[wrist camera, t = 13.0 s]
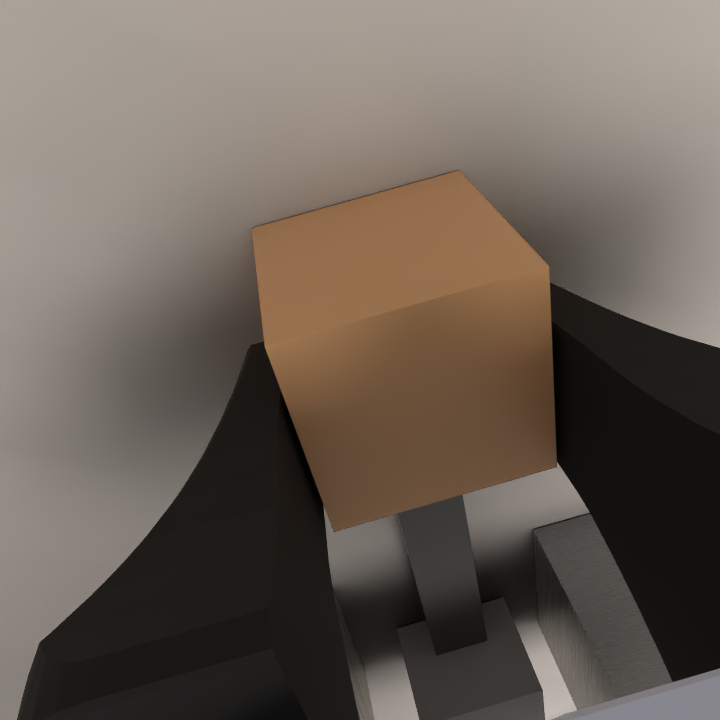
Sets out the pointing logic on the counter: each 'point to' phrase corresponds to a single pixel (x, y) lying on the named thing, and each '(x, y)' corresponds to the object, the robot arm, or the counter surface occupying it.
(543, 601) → the mounting bracket
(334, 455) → the plug
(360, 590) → the counter surface
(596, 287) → the counter surface
